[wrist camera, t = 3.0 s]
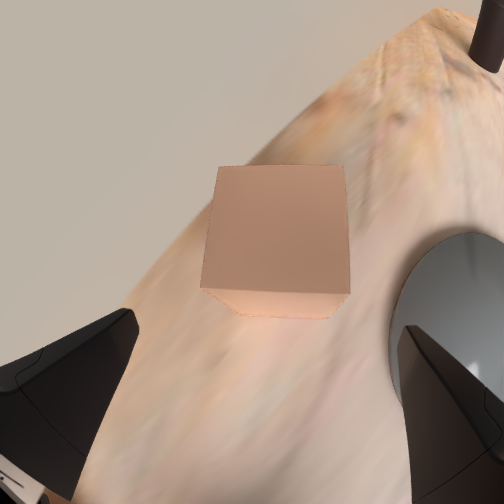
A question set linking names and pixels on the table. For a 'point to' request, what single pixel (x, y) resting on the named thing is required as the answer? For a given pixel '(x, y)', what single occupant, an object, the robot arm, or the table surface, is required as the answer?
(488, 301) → the plate
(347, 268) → the tan rectangular block
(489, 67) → the bottle
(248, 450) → the table surface
